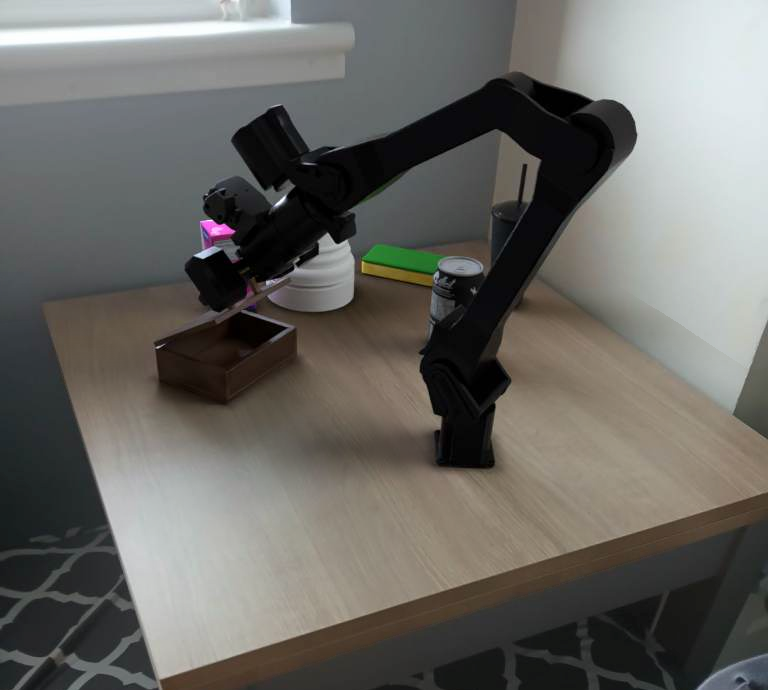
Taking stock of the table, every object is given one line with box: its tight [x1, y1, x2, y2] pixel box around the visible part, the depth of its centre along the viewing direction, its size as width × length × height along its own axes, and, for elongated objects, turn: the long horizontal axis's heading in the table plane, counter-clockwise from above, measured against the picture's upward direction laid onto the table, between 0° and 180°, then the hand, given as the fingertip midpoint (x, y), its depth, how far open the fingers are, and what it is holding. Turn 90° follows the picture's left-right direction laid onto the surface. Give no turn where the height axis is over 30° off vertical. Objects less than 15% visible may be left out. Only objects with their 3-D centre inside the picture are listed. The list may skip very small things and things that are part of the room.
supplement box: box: [199, 219, 257, 311], centre depth 122 cm, size 6×6×12 cm
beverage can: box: [426, 255, 486, 345], centre depth 115 cm, size 7×7×12 cm
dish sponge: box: [361, 243, 447, 287], centre depth 137 cm, size 7×14×2 cm, turn 70°
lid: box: [153, 268, 292, 348], centre depth 106 cm, size 11×15×5 cm
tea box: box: [154, 310, 298, 405], centre depth 110 cm, size 11×15×4 cm
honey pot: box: [265, 233, 356, 313], centre depth 125 cm, size 13×13×18 cm
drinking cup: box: [490, 163, 530, 310], centre depth 125 cm, size 8×8×20 cm
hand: (217, 292), depth 106 cm, fingers closed on lid, 6 cm apart
